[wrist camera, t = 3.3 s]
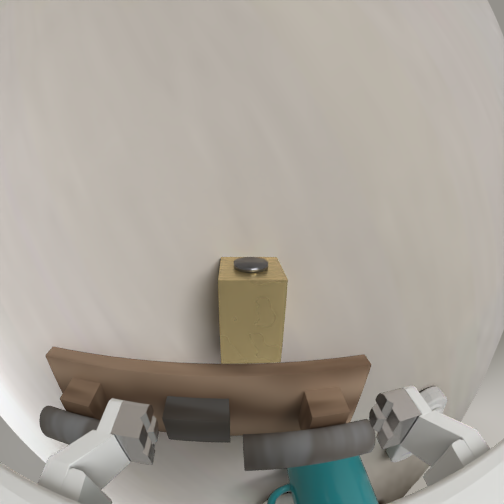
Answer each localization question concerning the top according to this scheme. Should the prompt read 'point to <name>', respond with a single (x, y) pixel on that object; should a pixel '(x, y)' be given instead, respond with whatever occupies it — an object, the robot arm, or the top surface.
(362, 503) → the cup
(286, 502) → the flower in vase
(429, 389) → the electronic device
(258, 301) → the block
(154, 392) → the shaft bench
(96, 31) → the top surface
